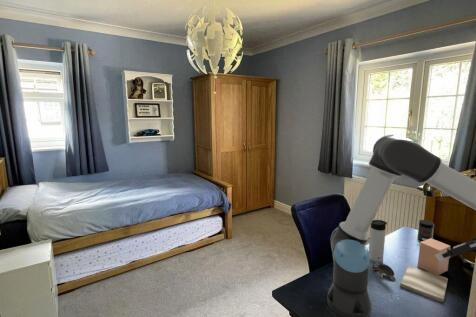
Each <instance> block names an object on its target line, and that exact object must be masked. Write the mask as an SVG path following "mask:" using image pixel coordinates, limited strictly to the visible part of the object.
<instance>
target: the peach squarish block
mask: <svg viewBox="0 0 476 317" xmlns="http://www.w3.org/2000/svg"><path fill="white" fill-rule="evenodd" d="M447 249H449V250H451V245H449V244H446V243H444V242H442V241H439V240H436V239H434V238H430V239H427V240H425V241H420V242H419V250H418V251H419V252H418V259H417V260H418V261H417V267H418V268H419V269H421V270H424V271H427V272H430V273H433V274H436V275H439V276H441V275H442V274H444V273H445V272H448V271H449V270H448V269H449V260H450V258H448V259H445V260H442V261H439V260H438V259H437V258H436V256H435V255H436V254H439V253H441V252H444V251H447Z"/></svg>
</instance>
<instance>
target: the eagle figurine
mask: <svg viewBox="0 0 476 317" xmlns="http://www.w3.org/2000/svg"><path fill="white" fill-rule="evenodd" d="M375 264H376V265H377V266H376V265H375ZM370 269H371V270H372V273H373V274H374V273H377V272H378V273H379V275H380V279H381V280H382V279H383V276H384V275H385V276H387V277H389V279H390V280H391V281H392V282H396V281H397V279H396V278H395V272H394V270H393V269H392V267H390V265H388V264H385V263H383V262H382V263H377V262H376V263H372V266H370Z"/></svg>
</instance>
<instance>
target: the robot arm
mask: <svg viewBox="0 0 476 317" xmlns="http://www.w3.org/2000/svg"><path fill="white" fill-rule="evenodd" d="M442 161H443V160H442V158H440V156H437V155H436V154H434V153H432V152H430V151H429V150H428V149H426V148H424V147H423V146H422V145H420V144H419V143H417V142H416V141H415V140H412V139H411V138H407V137H404V136H402V135H398V134H387V135H383V136H381V137H380V138H378V139H377V140H376V141H375V143H374V144H373V148H372V156H371V158H370V160H369V162H368V166H369V168H370V170H369V171H368V174H367V176H366V178H365V180H364V182H363V184H362V186H361V189H360V190H359V193H358V195H357V197H356V199H355V200H354V203H353V205H352V207H351V208H350V211H349V212H348V215H347V217H346V220H345V221H341V222H339V225H338V226H337V227H336V228H335V229H334V230H333V231H332V233H331V236H330V240H329V243H330V248H331V252H332V260H333V273H332V275H333V276H332V284H331V286H330V287H329V290H328V292H327V294H326V295H327V298H326V300H327V301H326V302H327V305H328V306H329V308H330V310H331V311H332V312H334V313H335V314H337V315H338V316H340V317H369V316H370V315H371V314H372V301H371V299H370V294H369V291H368V285H369V284H368V282H369V271H370V270H369V268H370V264H371V261H370V257H369V248H368V247H367V246H366V244H367V242H368V240H369V239H370V236H369V235H368V231H369V228H371V223H372V221H373V220H375V217H376V215H377V214H378V211H379V209H380V207H381V205H382V203H383V202H384V200H385V198H386V195H387V194H388V191H389V189H390V188H391V186H392V184H393V182H394V181H395V179H398V178H401V177H402V175H403V176H405V177H407V178H410V179H412V180H414V181H415V182H418V183H419V184H423V183H426V184H428V185H430V186H431V187H433V188H435V189H437V190H439V191H440V192H442V193H444V194H446V195H448V196H449V197H451V198H453V199H455V200H456V201H457V202H458V201H459V202H460V203H462V204H463V205H466V206H467V207H468V208H471V209H473V210H474V211H476V180H474V179H472V178H470V177H469V176H466V175H465V174H463V173H461V172H459V171H458V170H456V169H454V168H452V167H450V166H448V165H446V164H444V163H443V162H442ZM470 251H472V252H473V251H476V237H474V238H472V239H470V240H469V241H466V242H463V243H461V244H457V245H455V246H453V248H450V250H449V249H447V251H444V252H441V253H439V254H436V255H435V256H436V258H437V259H438V260H439V261H442V260H445V259H448V258H449V259H451V258H454V257H456V256H459V255H462V254H464V253H468V252H470Z"/></svg>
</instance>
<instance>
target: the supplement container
mask: <svg viewBox="0 0 476 317" xmlns="http://www.w3.org/2000/svg"><path fill="white" fill-rule="evenodd" d="M434 228H435V222H433V221H431V220H428V219H427V220H426V219H419V221H418V227H417V240H418V241H420V242H422V241H425V240H427V239H430V238H432V239H434V237H433V236H434Z"/></svg>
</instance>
